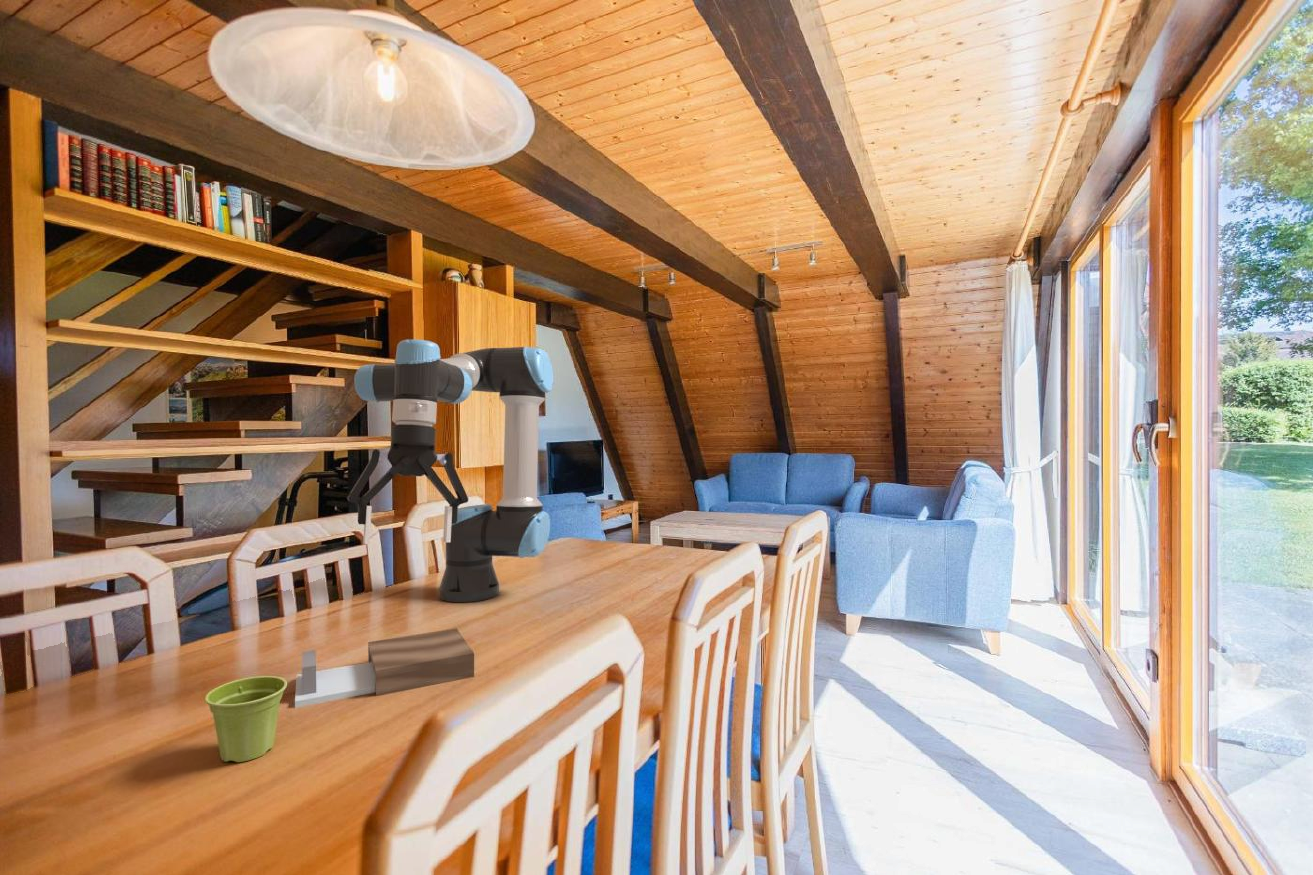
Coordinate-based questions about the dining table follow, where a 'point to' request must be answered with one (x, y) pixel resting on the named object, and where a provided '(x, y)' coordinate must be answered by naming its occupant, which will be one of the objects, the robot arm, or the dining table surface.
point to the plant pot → (246, 716)
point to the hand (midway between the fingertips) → (407, 542)
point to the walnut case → (420, 660)
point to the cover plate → (331, 681)
